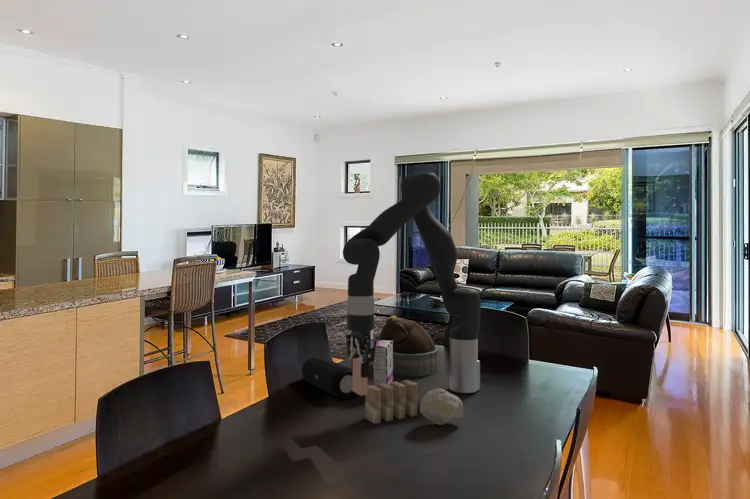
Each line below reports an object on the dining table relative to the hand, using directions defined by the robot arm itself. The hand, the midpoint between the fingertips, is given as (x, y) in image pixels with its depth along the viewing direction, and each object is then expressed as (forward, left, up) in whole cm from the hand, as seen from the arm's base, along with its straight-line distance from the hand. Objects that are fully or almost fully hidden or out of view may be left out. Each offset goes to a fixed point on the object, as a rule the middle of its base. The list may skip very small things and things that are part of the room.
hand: (360, 374), depth 133 cm
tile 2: (-12, 0, -13) cm, 18 cm away
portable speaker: (-5, -32, -13) cm, 35 cm away
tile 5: (0, 0, -5) cm, 5 cm away
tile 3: (-8, 0, -13) cm, 15 cm away
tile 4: (-4, 0, -13) cm, 14 cm away
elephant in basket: (-41, -40, -13) cm, 59 cm away
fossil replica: (-18, +13, -13) cm, 26 cm away
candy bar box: (-20, -22, -13) cm, 33 cm away
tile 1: (-16, 0, -13) cm, 21 cm away
